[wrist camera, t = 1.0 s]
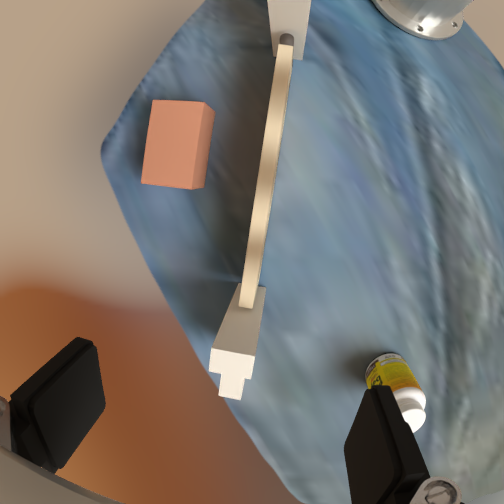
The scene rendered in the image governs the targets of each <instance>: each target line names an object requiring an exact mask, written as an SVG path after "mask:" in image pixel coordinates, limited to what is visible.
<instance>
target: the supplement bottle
mask: <svg viewBox="0 0 504 504" xmlns="http://www.w3.org/2000/svg"><path fill="white" fill-rule="evenodd" d="M365 379H366V383H367V386H368V389H371V387H372V386H373V385H388V386H390V387H391V390H392V392H393V394H394V397H395V399H396V401H397V404H398V406H399V408H400V411H401V413H402V415H403V418H404V420H405V422H407V423H408V424H409V425H410V427H411V430H412V432H415V431H416V430H418V429H419V428H420V427H421V426H422V424H423V423H424V421H425V417H426V415H425V412H424V407H425V403H426V399H425V396H424V393H423V392H422V390H421V388H420V386H419V384H418V382H417V381H416V379H415V377H414V375H413V373H412V372H411V370H410V368H409V366H408V365H407V363H406V361H405V360H404V359H403V357H401V356H400V355H397V354H392V353H391V354H384V355H381V356H379V357H377V358H376V359H375V360H373V361H372V362H371V363H370V365H369V366H368V368H367V370H366V374H365Z"/></svg>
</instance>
